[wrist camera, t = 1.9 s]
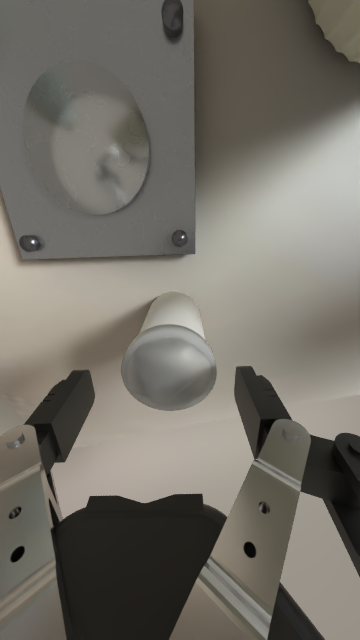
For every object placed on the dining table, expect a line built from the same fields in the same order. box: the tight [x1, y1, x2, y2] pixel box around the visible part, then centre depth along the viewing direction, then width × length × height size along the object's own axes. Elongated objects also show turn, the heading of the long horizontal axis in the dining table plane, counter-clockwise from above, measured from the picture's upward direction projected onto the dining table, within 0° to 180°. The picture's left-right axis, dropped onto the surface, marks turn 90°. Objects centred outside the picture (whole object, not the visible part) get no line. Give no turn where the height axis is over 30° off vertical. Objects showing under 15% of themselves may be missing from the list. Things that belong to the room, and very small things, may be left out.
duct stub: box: [121, 292, 216, 411], centre depth 17 cm, size 6×6×9 cm
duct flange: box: [0, 0, 195, 259], centre depth 15 cm, size 14×14×2 cm
